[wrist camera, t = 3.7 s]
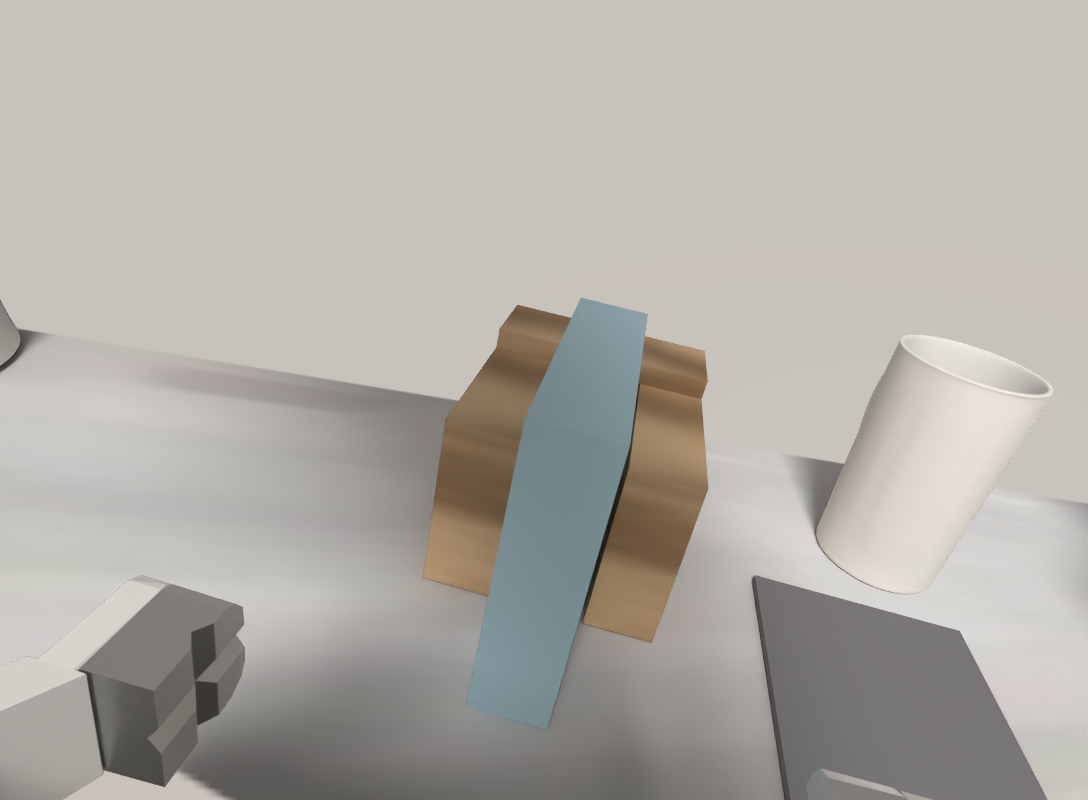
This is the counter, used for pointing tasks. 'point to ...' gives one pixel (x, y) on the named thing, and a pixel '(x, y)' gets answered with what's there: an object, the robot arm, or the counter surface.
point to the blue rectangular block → (558, 512)
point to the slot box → (643, 492)
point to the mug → (926, 459)
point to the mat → (882, 701)
